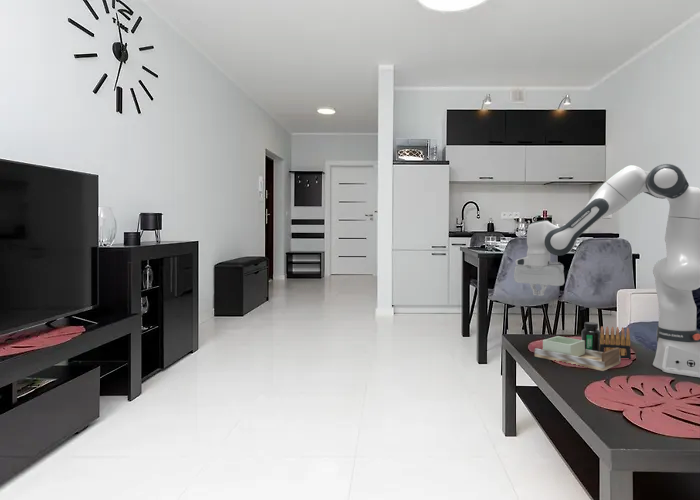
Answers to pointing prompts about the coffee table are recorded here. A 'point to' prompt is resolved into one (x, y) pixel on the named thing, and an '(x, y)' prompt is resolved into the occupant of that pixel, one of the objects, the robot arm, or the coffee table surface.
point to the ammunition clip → (616, 342)
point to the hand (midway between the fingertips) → (538, 295)
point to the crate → (565, 345)
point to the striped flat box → (585, 358)
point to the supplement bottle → (591, 336)
